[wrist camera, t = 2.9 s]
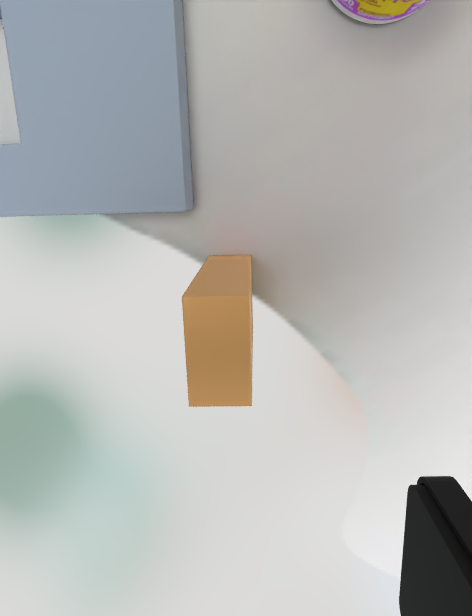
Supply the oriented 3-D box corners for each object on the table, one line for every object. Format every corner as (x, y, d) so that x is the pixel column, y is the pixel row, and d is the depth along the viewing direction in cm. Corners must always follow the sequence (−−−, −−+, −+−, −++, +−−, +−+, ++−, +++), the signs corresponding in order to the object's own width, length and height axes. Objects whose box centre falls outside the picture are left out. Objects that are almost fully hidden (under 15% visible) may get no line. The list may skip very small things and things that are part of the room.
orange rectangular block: (251, 254, 26) (249, 295, 16) (252, 327, 27) (251, 405, 17) (208, 255, 26) (181, 296, 16) (212, 328, 27) (188, 406, 18)
